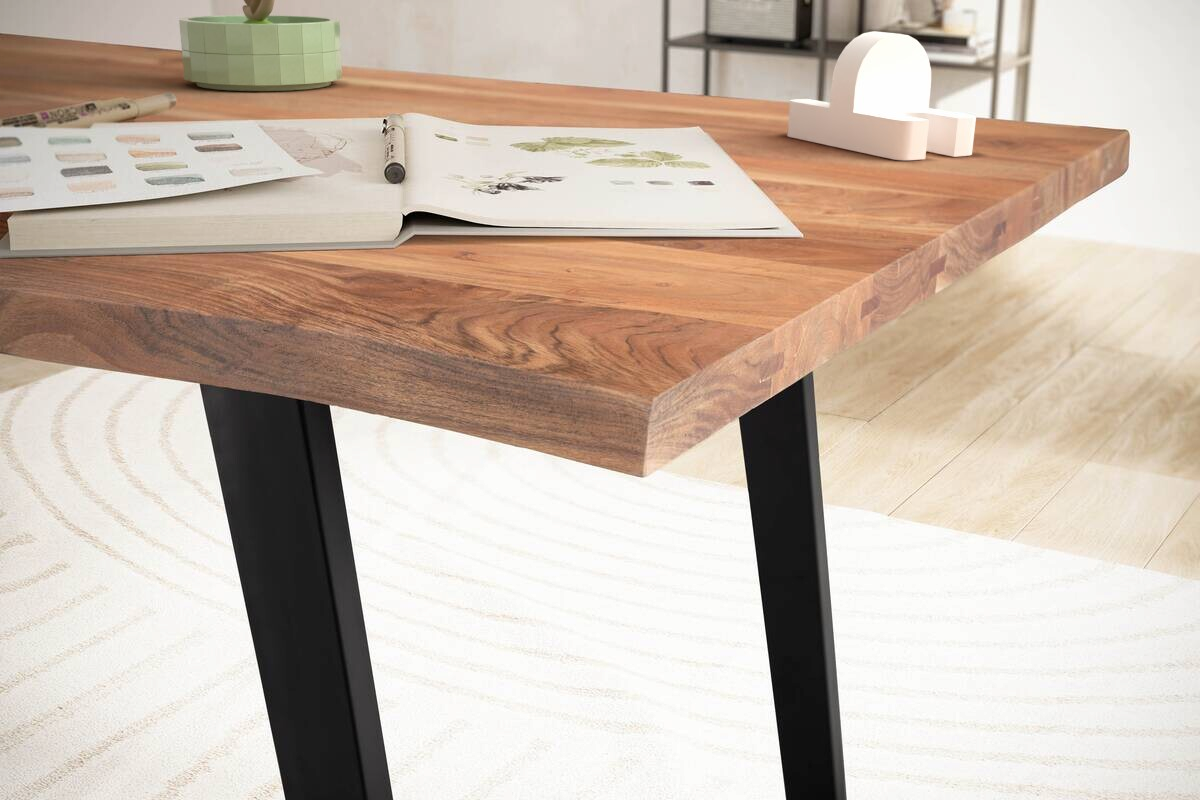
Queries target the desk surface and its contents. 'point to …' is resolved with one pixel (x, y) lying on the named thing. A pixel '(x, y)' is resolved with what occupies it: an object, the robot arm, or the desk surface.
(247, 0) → the snail figurine
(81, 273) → the desk surface
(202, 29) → the green round bowl
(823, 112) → the slotted bracket
